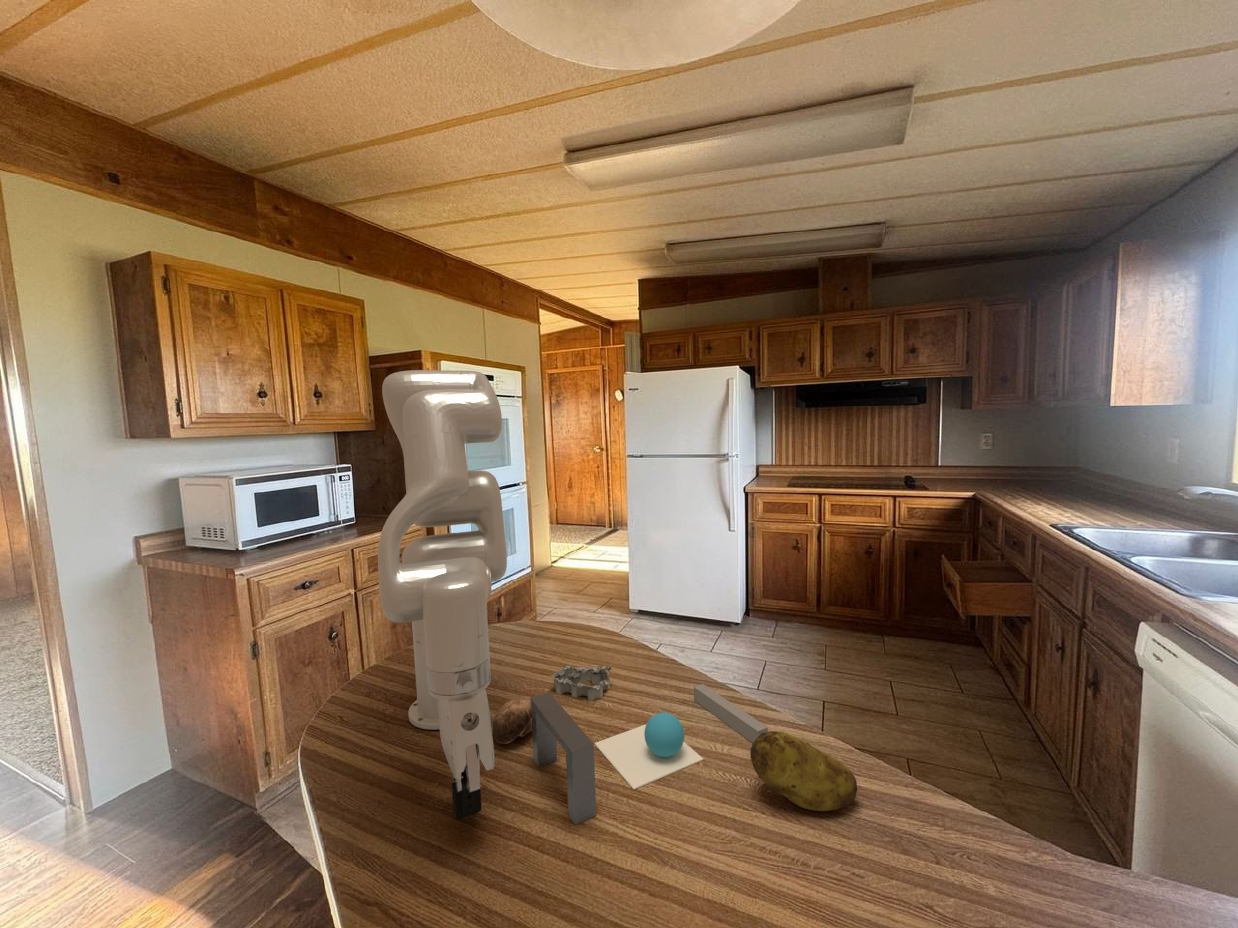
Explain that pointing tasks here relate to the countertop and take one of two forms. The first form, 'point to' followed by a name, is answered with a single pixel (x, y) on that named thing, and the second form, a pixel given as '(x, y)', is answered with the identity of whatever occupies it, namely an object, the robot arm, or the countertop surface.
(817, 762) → the potato
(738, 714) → the wall
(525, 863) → the countertop surface
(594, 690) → the grey scalloped ring
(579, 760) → the bridge
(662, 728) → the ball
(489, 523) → the robot arm
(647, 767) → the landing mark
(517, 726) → the brown rounded lump
